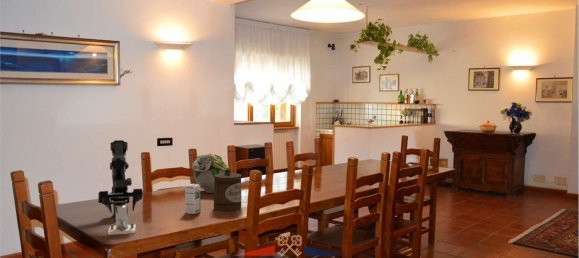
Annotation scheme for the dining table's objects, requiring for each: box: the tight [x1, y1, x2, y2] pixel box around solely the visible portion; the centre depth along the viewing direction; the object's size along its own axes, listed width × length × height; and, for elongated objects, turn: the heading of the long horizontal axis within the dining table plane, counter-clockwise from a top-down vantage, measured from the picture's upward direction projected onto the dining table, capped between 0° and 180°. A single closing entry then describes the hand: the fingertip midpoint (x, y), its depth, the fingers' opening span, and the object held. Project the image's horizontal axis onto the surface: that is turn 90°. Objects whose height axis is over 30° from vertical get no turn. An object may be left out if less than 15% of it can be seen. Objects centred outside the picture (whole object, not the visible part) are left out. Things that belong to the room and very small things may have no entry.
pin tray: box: [107, 222, 137, 236], centre depth 209 cm, size 11×11×3 cm
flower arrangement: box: [191, 153, 230, 194], centre depth 299 cm, size 25×25×24 cm
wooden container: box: [213, 167, 242, 212], centre depth 255 cm, size 15×15×22 cm
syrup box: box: [184, 183, 202, 215], centre depth 244 cm, size 6×6×14 cm
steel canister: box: [115, 204, 129, 230], centre depth 209 cm, size 5×5×10 cm
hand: (122, 211), depth 208 cm, fingers open, 9 cm apart
